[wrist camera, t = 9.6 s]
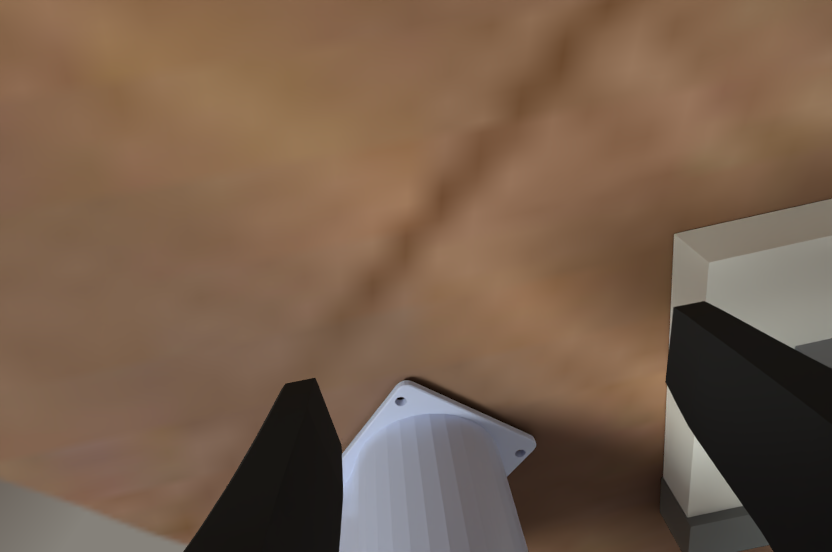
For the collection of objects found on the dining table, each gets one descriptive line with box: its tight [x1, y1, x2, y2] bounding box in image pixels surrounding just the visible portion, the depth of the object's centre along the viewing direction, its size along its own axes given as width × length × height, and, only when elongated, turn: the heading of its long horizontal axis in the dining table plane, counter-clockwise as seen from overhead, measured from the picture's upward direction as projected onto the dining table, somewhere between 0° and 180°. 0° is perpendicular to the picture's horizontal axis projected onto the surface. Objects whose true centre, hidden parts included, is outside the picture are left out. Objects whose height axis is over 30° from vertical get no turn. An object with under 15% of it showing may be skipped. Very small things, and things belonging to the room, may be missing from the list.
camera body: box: [660, 199, 832, 552], centre depth 24 cm, size 18×11×4 cm, turn 12°
